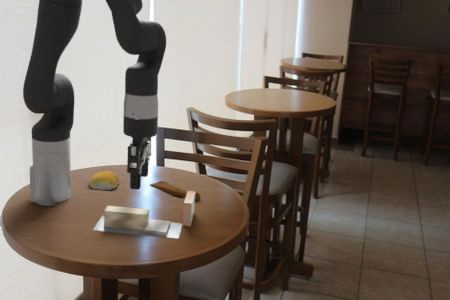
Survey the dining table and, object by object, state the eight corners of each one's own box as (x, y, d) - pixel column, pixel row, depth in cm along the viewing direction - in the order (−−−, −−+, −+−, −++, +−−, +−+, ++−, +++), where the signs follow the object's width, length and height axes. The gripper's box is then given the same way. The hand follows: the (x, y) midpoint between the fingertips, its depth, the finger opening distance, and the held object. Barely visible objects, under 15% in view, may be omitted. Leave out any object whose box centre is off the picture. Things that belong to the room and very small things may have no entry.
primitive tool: (148, 186, 141) (148, 175, 140) (162, 182, 145) (163, 172, 144) (192, 207, 129) (193, 195, 128) (206, 202, 133) (207, 191, 132)
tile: (182, 229, 114) (183, 202, 112) (186, 215, 122) (187, 190, 120) (190, 230, 114) (192, 203, 112) (193, 216, 122) (195, 191, 120)
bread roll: (120, 181, 142) (121, 168, 141) (115, 192, 134) (115, 178, 133) (93, 179, 142) (93, 166, 141) (86, 189, 133) (86, 176, 132)
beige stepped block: (102, 229, 108) (102, 213, 107) (109, 218, 114) (109, 203, 113) (166, 235, 108) (167, 219, 107) (170, 224, 114) (171, 208, 113)
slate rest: (92, 234, 108) (92, 230, 107) (102, 219, 115) (102, 215, 115) (178, 242, 107) (178, 238, 107) (182, 227, 115) (182, 223, 115)
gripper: (131, 106, 110) (130, 171, 115) (115, 119, 97) (115, 192, 101) (162, 108, 110) (160, 173, 115) (151, 121, 97) (149, 194, 101)
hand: (139, 182), depth 108 cm, fingers open, 8 cm apart
